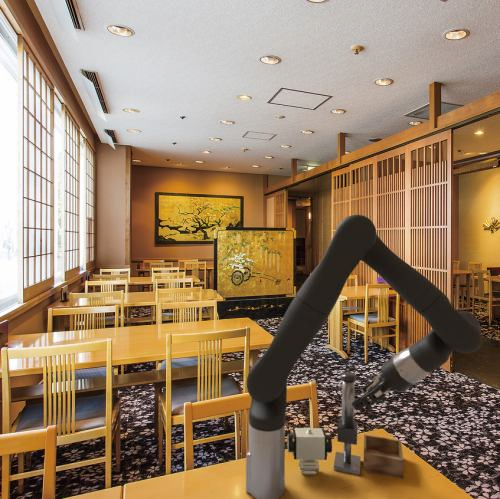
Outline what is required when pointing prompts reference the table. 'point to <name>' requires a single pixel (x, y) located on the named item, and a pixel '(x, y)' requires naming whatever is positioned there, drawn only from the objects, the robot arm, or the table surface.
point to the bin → (383, 456)
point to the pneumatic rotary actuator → (309, 447)
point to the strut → (347, 411)
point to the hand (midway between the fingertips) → (359, 398)
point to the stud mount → (347, 461)
